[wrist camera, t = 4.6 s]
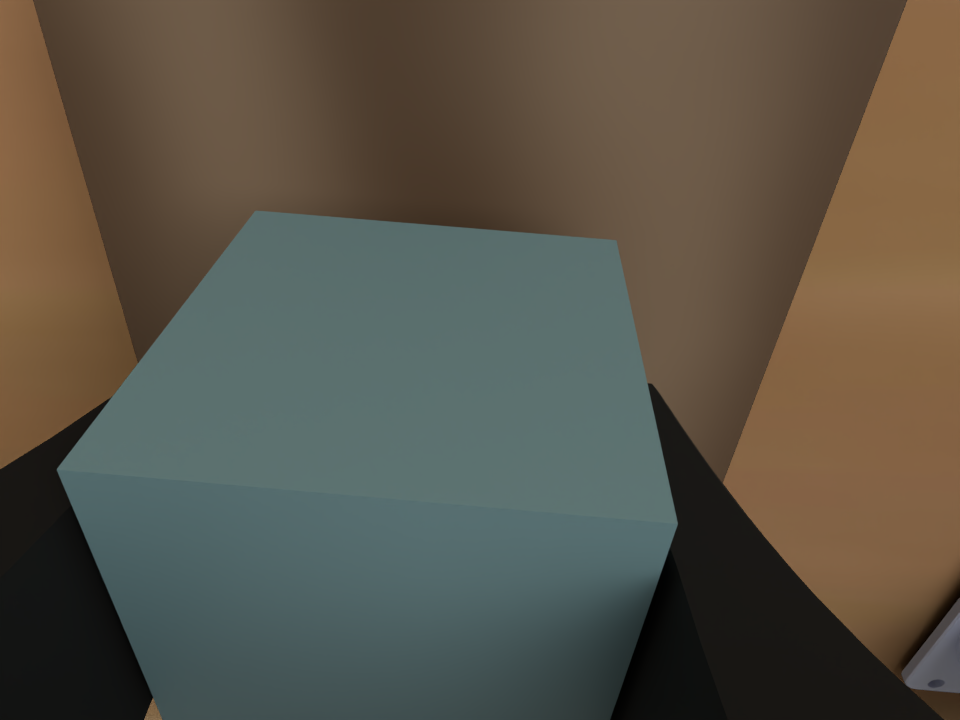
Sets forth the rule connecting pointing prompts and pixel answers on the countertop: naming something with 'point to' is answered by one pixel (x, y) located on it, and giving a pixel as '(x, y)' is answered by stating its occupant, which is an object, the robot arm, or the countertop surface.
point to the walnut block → (487, 145)
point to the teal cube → (384, 479)
